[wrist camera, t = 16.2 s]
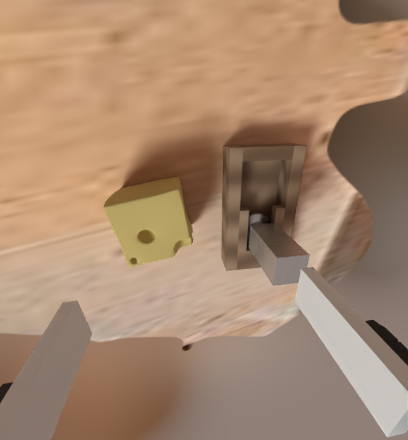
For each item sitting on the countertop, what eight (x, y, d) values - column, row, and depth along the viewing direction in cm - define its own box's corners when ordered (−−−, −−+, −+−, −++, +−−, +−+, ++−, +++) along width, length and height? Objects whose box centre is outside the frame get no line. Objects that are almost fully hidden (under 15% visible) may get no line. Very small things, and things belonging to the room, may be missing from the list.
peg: (239, 212, 38) (271, 253, 25) (270, 210, 39) (316, 248, 26) (237, 240, 41) (266, 290, 28) (266, 238, 41) (308, 285, 28)
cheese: (191, 225, 39) (197, 254, 30) (136, 238, 39) (124, 271, 30) (179, 172, 35) (181, 186, 26) (116, 185, 34) (95, 205, 25)
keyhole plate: (223, 145, 34) (229, 148, 30) (291, 143, 35) (306, 145, 31) (221, 257, 43) (226, 270, 39) (276, 252, 44) (286, 264, 40)
